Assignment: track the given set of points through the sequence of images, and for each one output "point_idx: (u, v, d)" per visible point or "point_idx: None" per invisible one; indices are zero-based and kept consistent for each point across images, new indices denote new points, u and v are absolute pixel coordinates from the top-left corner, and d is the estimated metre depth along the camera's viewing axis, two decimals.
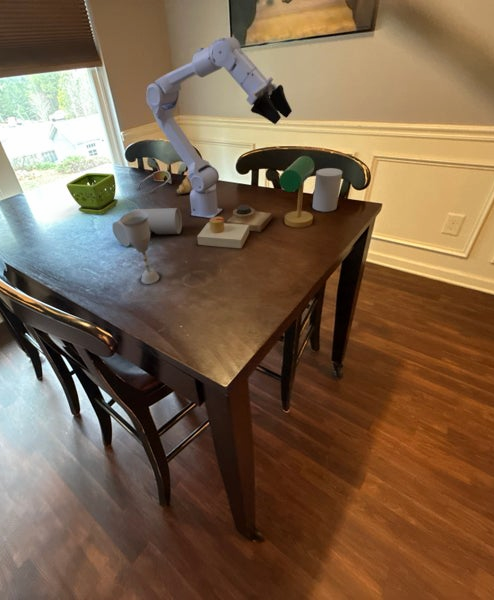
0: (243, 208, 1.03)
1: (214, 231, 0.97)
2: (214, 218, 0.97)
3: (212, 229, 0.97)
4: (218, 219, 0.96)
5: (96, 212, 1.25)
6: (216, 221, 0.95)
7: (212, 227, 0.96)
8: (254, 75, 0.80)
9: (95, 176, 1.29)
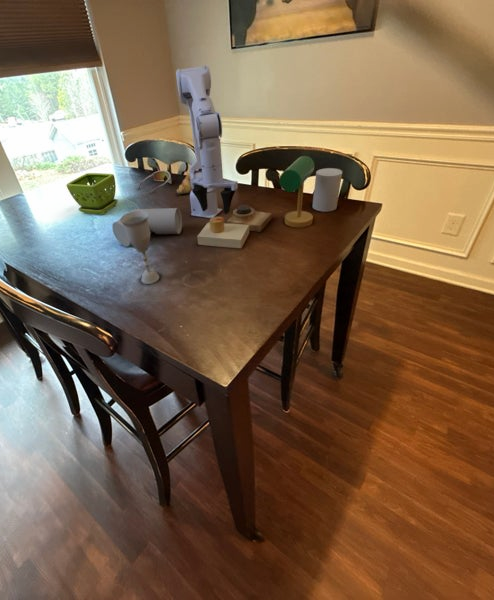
0: (243, 208, 1.03)
1: (214, 231, 0.97)
2: (214, 218, 0.97)
3: (212, 229, 0.97)
4: (218, 219, 0.96)
5: (96, 212, 1.25)
6: (216, 221, 0.95)
7: (212, 227, 0.96)
8: (202, 170, 0.86)
9: (95, 176, 1.29)
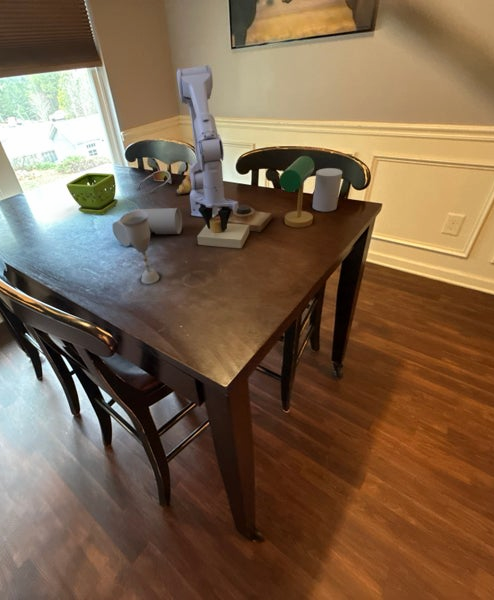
0: (243, 208, 1.03)
1: (214, 231, 0.97)
2: (214, 218, 0.97)
3: (212, 229, 0.97)
4: (218, 219, 0.96)
5: (96, 212, 1.25)
6: (216, 221, 0.95)
7: (212, 227, 0.96)
8: (204, 191, 0.90)
9: (95, 176, 1.29)
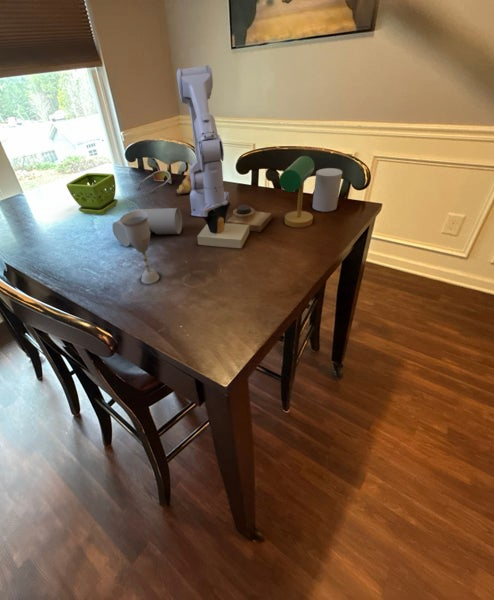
0: (243, 208, 1.03)
1: (223, 229, 0.97)
2: None
3: (222, 228, 0.96)
4: None
5: (96, 212, 1.25)
6: (221, 219, 0.96)
7: (222, 226, 0.96)
8: (217, 192, 0.88)
9: (95, 176, 1.29)
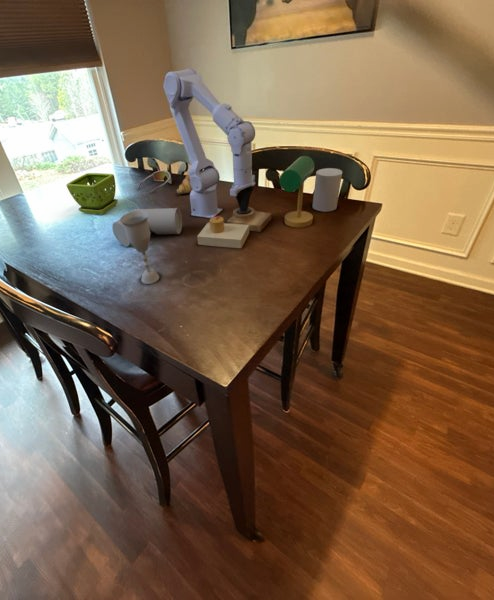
0: (243, 211, 1.04)
1: (223, 229, 0.97)
2: (212, 220, 0.96)
3: (222, 228, 0.96)
4: (217, 218, 0.97)
5: (96, 212, 1.25)
6: (221, 219, 0.96)
7: (222, 226, 0.96)
8: (246, 173, 0.95)
9: (95, 176, 1.29)
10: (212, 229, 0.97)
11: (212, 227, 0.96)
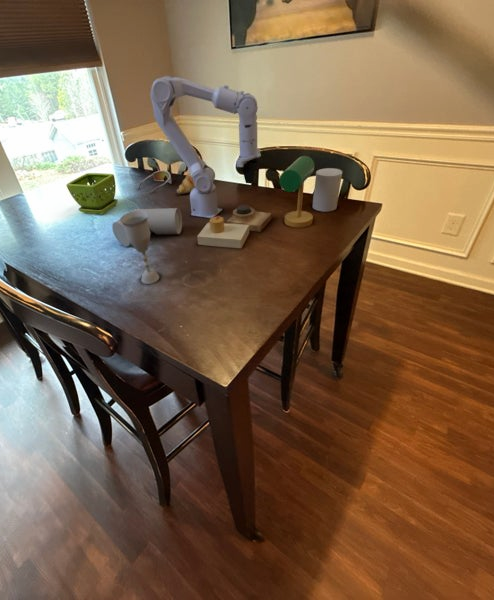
0: (243, 208, 1.03)
1: (223, 229, 0.97)
2: (212, 220, 0.96)
3: (222, 228, 0.96)
4: (217, 218, 0.97)
5: (96, 212, 1.25)
6: (221, 219, 0.96)
7: (222, 226, 0.96)
8: (252, 145, 0.98)
9: (95, 176, 1.29)
10: (212, 229, 0.97)
11: (212, 227, 0.96)
